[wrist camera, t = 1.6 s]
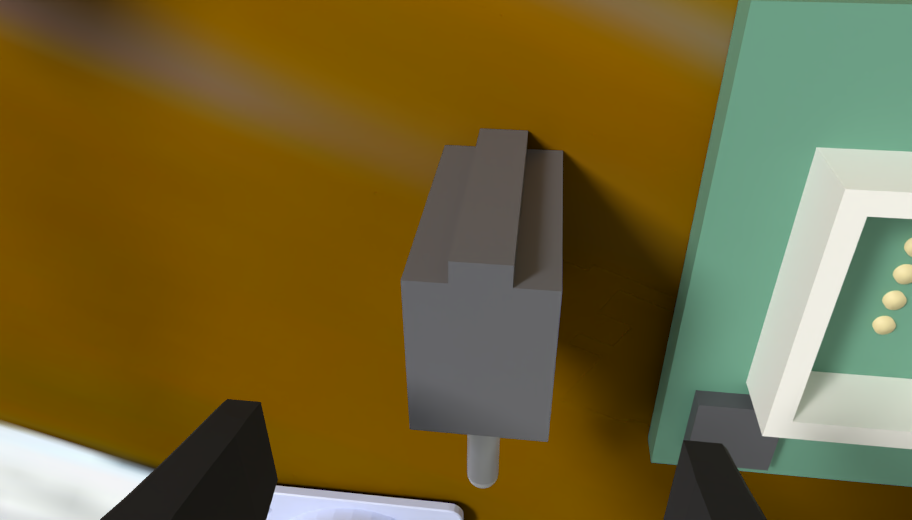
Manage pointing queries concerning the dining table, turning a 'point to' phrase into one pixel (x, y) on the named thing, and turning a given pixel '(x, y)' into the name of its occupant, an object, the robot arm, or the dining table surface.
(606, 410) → the dining table surface
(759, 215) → the board
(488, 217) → the plug
